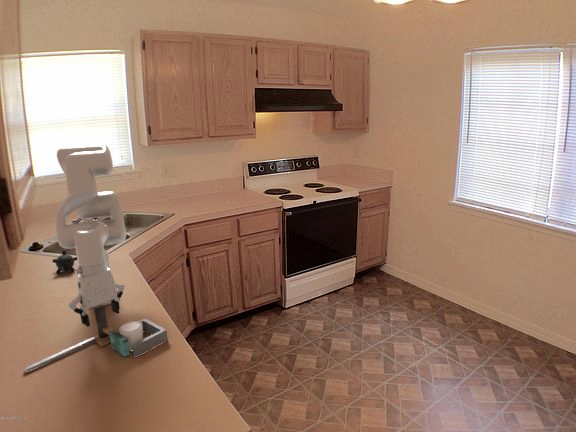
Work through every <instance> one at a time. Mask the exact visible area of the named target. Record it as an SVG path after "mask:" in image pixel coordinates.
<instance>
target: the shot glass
mask: <svg viewBox="0 0 576 432" xmlns="http://www.w3.org/2000/svg"><path fill="white" fill-rule="evenodd" d="M139 321H140V320H138V321H136V320H134V321H128V322H124V323H123V324H121V325H120V326H119V327H118V330H119V332H120V334H121V335H123V336H125V337H126V338H127V340H128V346H129V351H131V350H133V349H132V345H133V344H135V343H137V342H139V341H141V340H143V339H144V332H143V328H142V323H141V322H139ZM131 352H132V351H131Z"/></svg>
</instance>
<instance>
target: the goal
mask: <svg viewBox="0 0 576 432" xmlns="http://www.w3.org/2000/svg"><path fill="white" fill-rule="evenodd" d="M138 321H139V322H141V323H142V328H143V331H146V332H145V333H147V332H148V333H147V334H149V333H150V334H152V335H150V334H149V336H147V337H144V338H143V340H141V341H139V342H137V343H135V344H133V345H132V349H133V351H132V355H133V357H134V356H135V357H136V356H138V355H140V354H142V353H144V352H146V351H148V350H150V349H152V348H153V347H155V346H157V345H159V344H161V343H163V342H165V341H167V342H168V341H169V340H168V338H169V337H168V331H167V329H165V328H164V327H162V326H160V325H158V324H156V323H154V322H153V321H151V320H149V319H148V318H141V319H140V320H138ZM116 331H117V332H118V333H120V332H119V329H118V330H116ZM165 343H166V342H165ZM163 344H164V343H163ZM161 345H162V344H161ZM159 346H160V345H159ZM152 350H153V349H152ZM150 351H151V350H150ZM148 352H149V351H148ZM146 353H147V352H146ZM135 357H134V358H135Z"/></svg>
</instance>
